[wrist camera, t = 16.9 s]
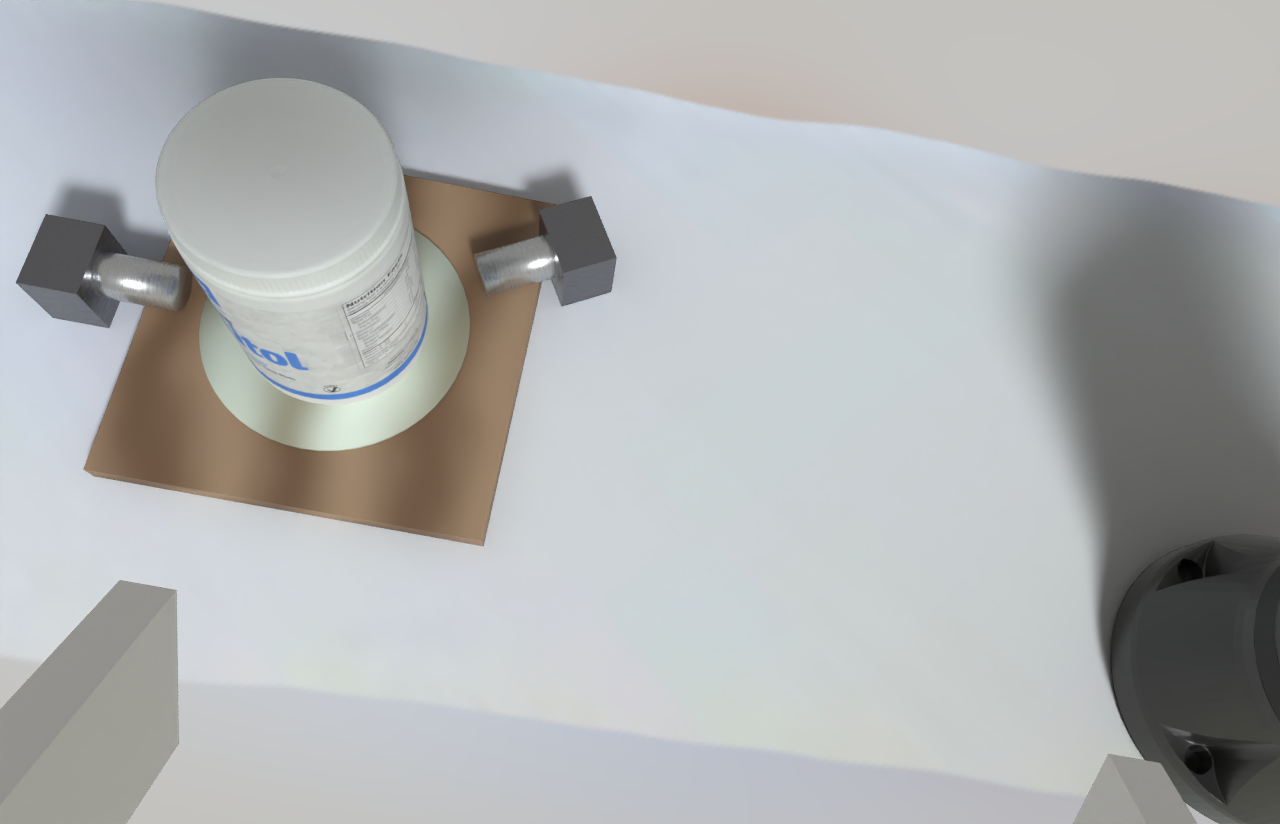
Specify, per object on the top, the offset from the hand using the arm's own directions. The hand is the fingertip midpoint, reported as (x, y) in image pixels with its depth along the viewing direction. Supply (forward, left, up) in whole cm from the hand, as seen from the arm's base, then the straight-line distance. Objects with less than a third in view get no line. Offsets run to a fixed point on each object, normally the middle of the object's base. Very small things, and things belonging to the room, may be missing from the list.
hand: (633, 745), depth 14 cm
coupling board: (+16, -20, -36) cm, 44 cm away
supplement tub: (+16, -19, -34) cm, 43 cm away
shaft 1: (+28, -20, -36) cm, 49 cm away
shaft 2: (+6, -25, -36) cm, 44 cm away
